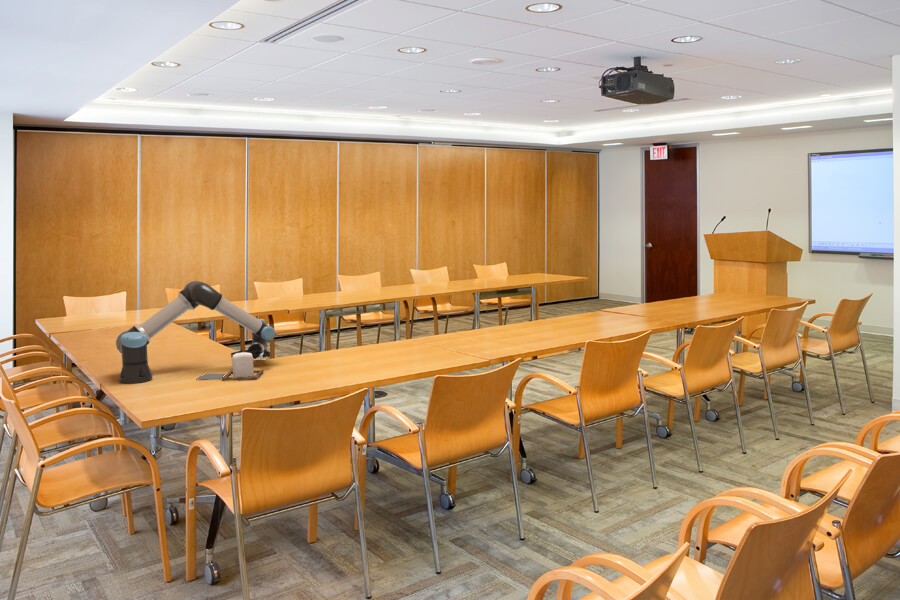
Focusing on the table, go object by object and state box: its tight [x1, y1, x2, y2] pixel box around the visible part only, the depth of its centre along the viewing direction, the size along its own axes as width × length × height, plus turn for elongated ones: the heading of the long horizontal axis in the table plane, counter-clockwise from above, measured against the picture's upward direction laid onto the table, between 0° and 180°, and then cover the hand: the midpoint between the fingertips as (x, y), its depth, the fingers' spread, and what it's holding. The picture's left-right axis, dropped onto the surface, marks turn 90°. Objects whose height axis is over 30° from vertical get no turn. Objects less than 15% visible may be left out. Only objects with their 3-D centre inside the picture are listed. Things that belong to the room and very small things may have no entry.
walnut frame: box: [221, 369, 265, 381], centre depth 370 cm, size 17×17×2 cm
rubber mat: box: [195, 373, 226, 381], centre depth 369 cm, size 12×12×1 cm
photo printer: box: [231, 352, 255, 377], centre depth 369 cm, size 10×4×12 cm, turn 115°
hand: (247, 357), depth 379 cm, fingers open, 13 cm apart
